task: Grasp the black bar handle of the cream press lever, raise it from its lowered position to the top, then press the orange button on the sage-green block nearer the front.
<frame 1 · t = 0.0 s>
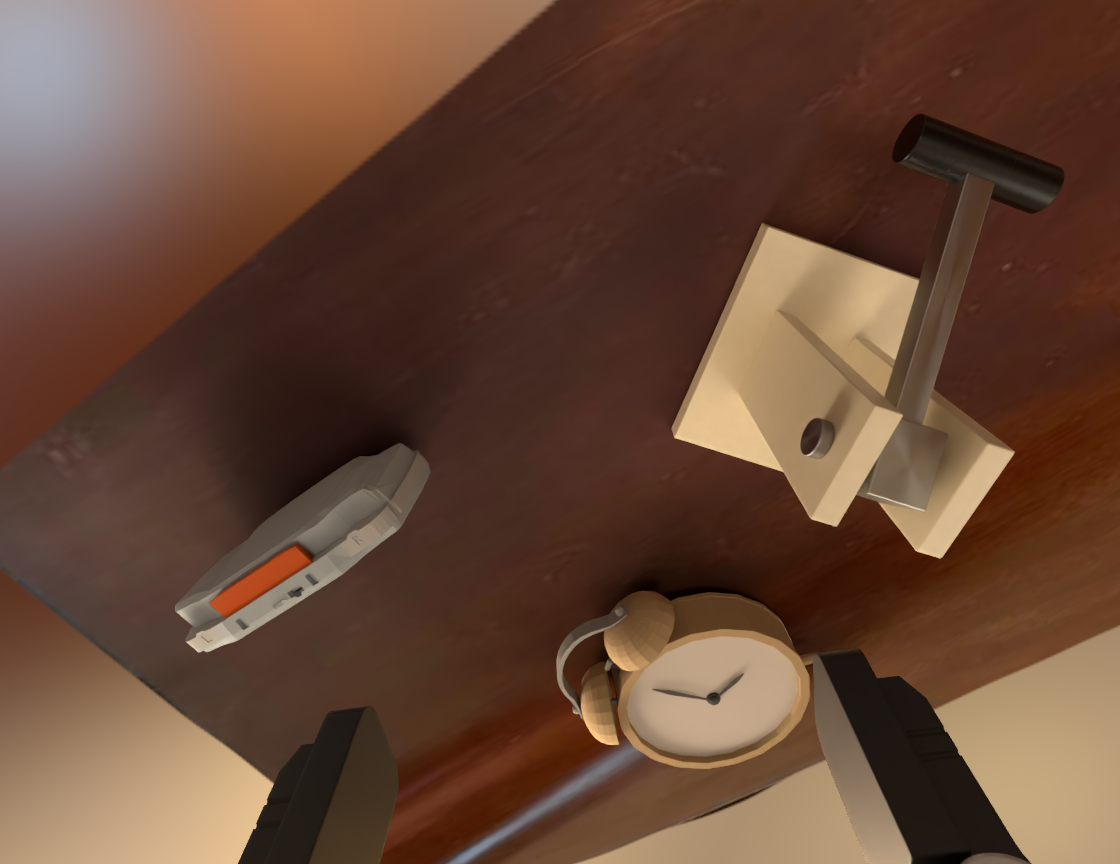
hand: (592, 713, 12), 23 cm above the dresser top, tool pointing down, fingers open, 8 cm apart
lever: (930, 320, 24), point 9 cm above the dresser top, hinge at -25.0°
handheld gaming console: (329, 499, 38), on the dresser top
alarm clock: (675, 650, 42), on the dresser top
bracket: (796, 360, 34), on the dresser top
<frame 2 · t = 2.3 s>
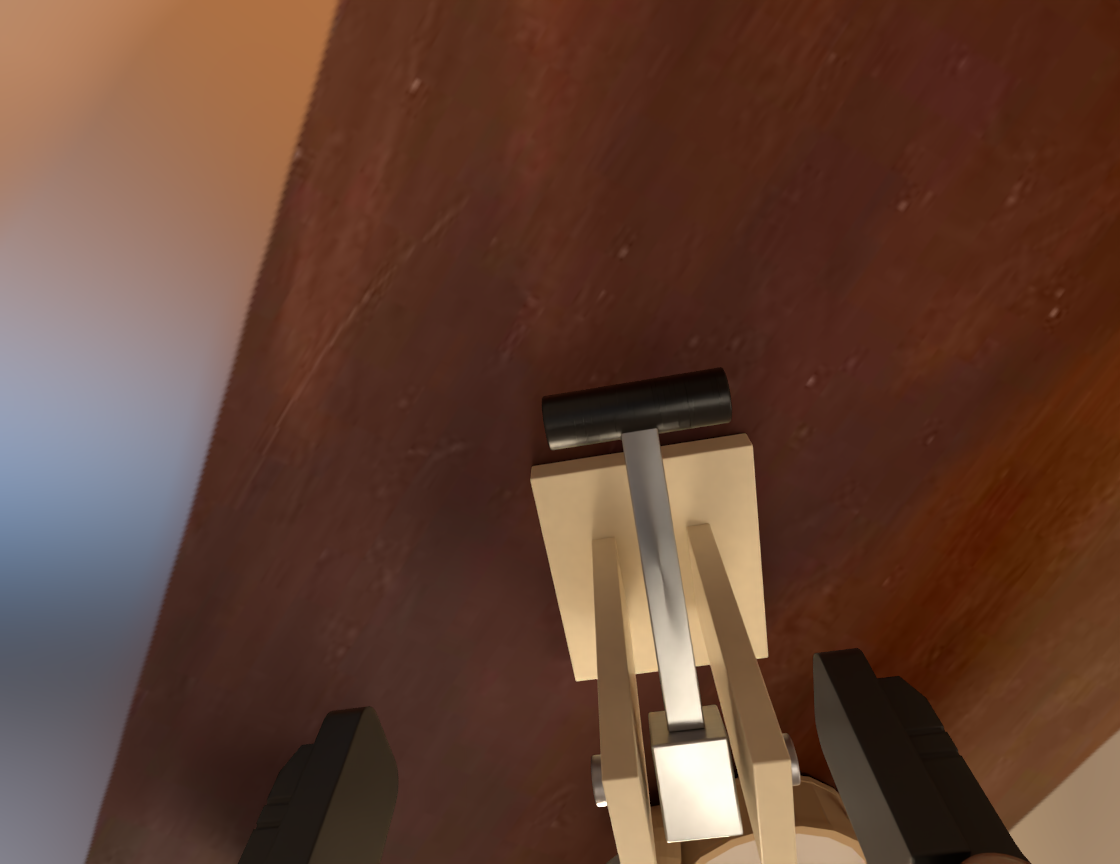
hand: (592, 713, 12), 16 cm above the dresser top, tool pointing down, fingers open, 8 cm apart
lever: (665, 597, 20), point 9 cm above the dresser top, hinge at -25.0°
alarm clock: (723, 837, 38), on the dresser top
bracket: (653, 557, 30), on the dresser top
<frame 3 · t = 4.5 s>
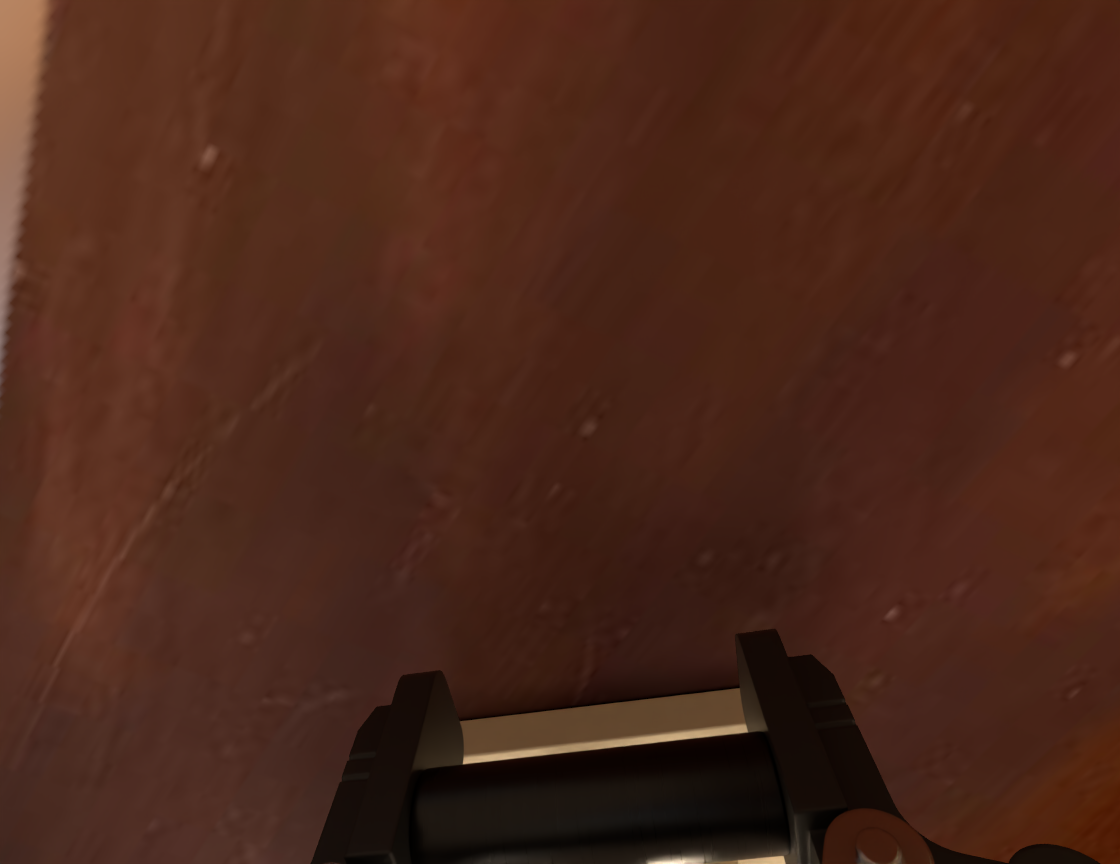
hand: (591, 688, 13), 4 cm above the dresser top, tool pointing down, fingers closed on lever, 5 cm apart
bracket: (642, 835, 20), on the dresser top
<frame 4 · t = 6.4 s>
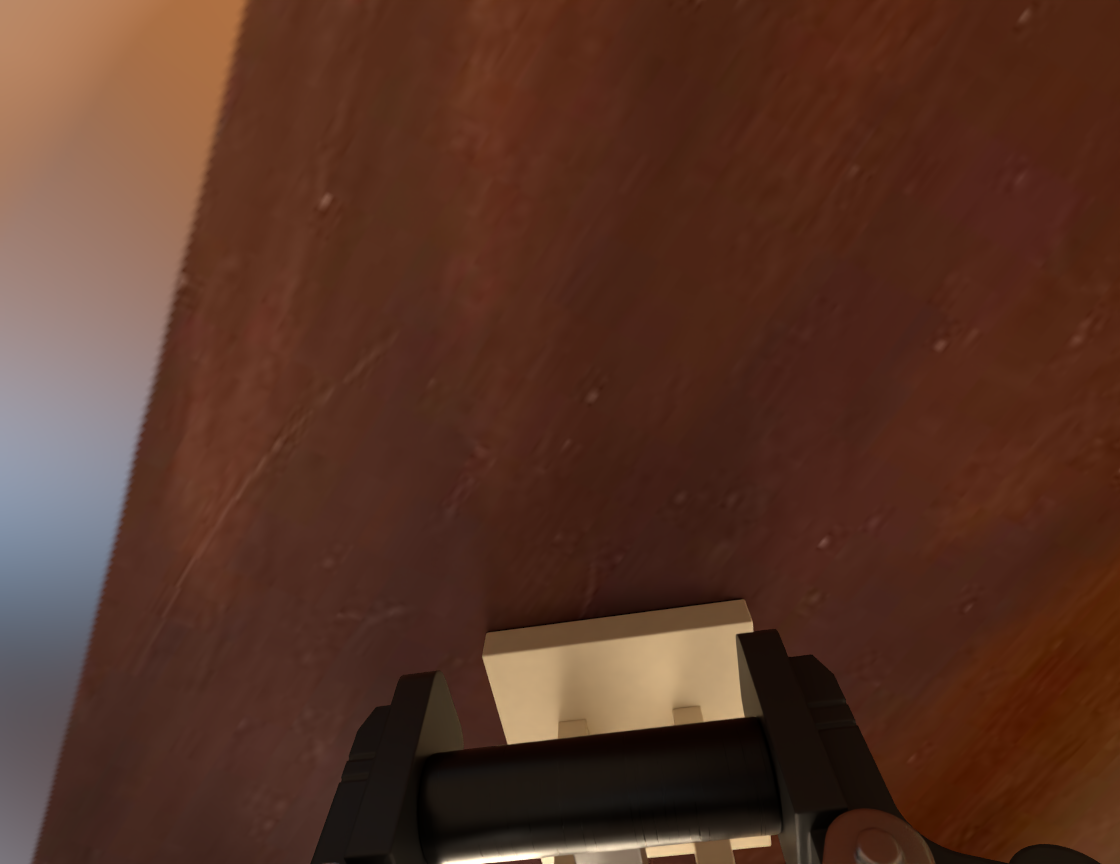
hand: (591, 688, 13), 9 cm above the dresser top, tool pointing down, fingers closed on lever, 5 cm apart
bracket: (634, 731, 25), on the dresser top
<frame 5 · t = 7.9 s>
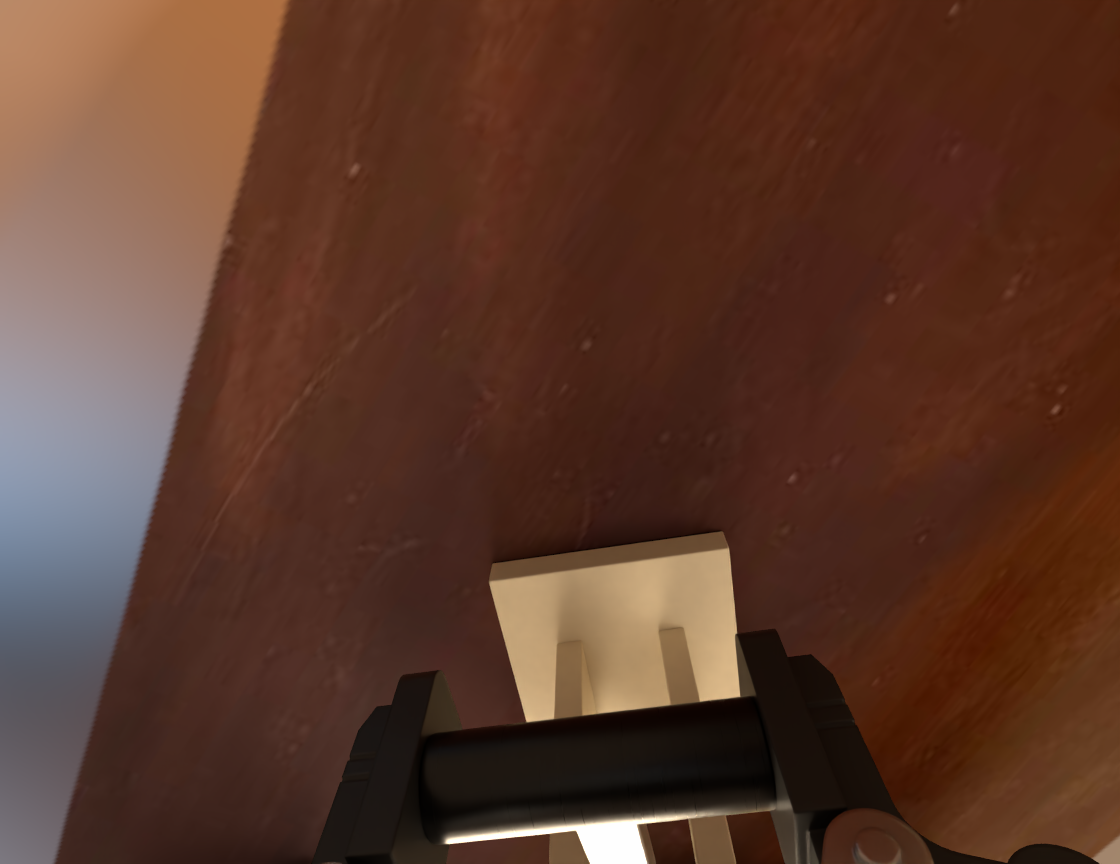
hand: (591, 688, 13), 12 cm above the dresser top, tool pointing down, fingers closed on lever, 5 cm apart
bracket: (625, 656, 28), on the dresser top
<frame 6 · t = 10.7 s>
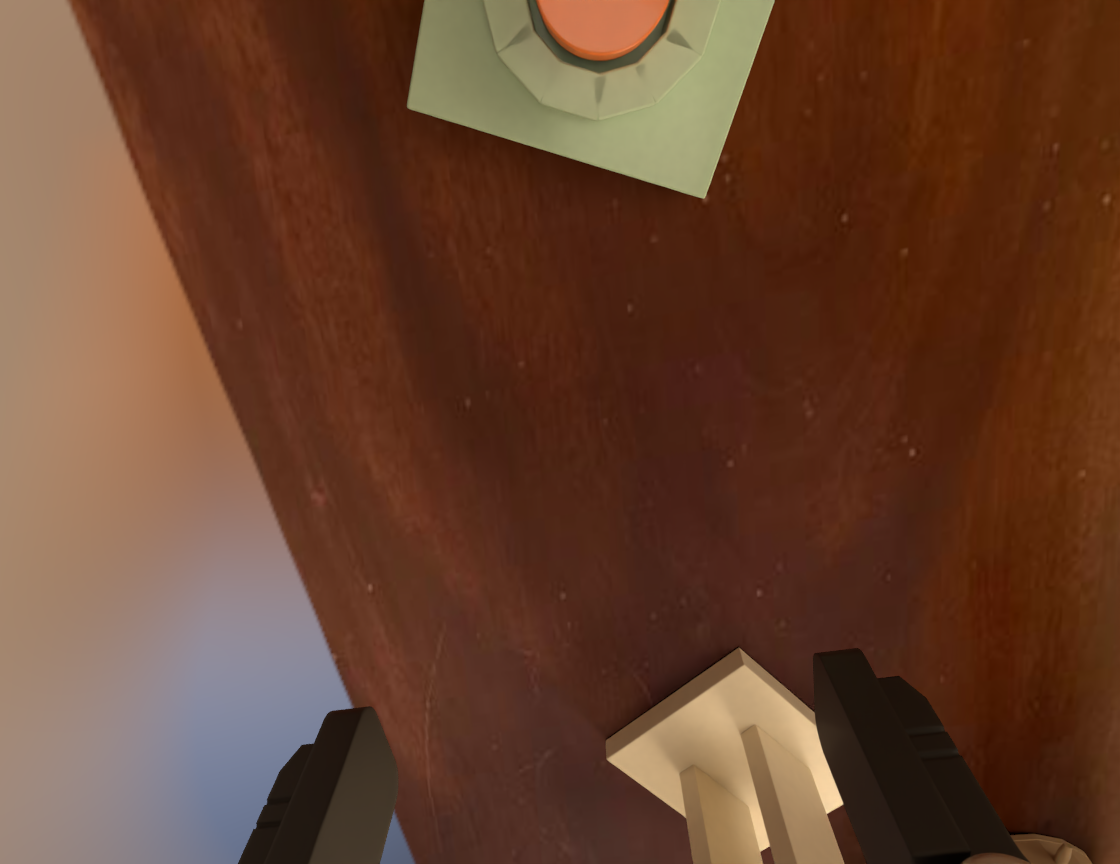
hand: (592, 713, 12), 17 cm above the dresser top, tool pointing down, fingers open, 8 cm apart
button block: (597, 7, 22), on the dresser top
bracket: (739, 751, 36), on the dresser top
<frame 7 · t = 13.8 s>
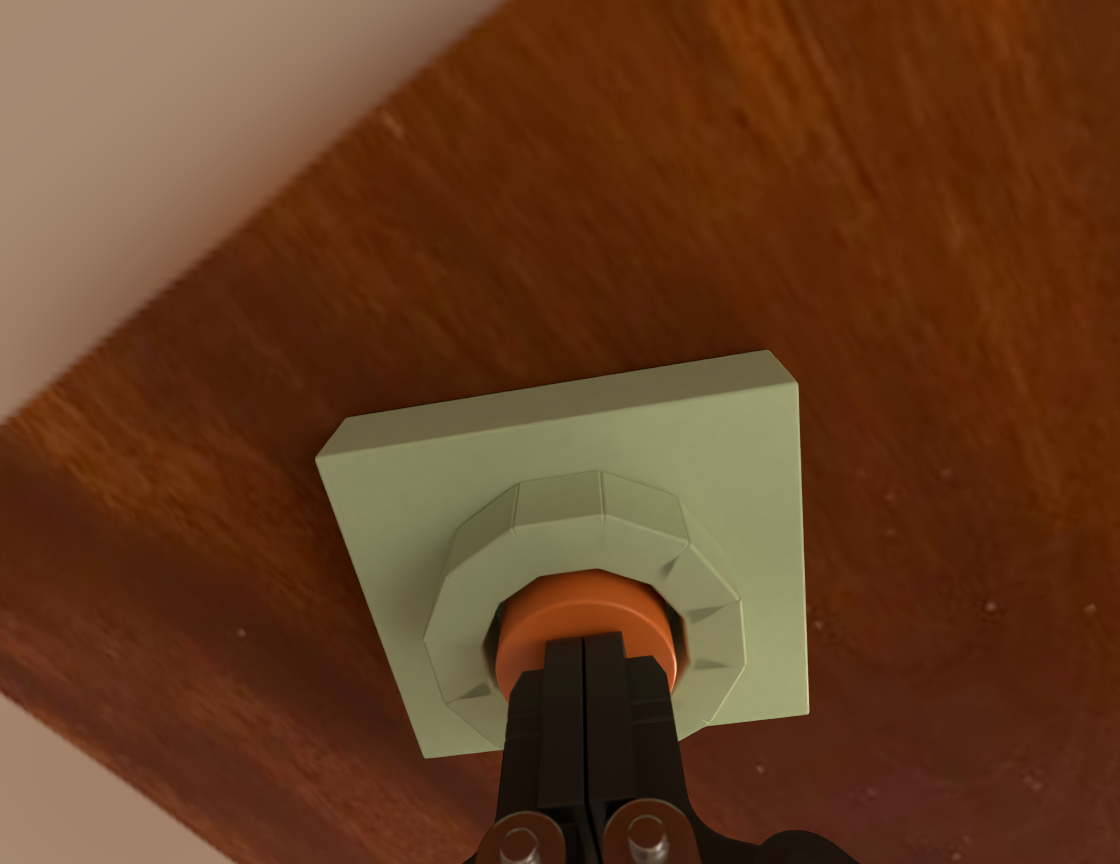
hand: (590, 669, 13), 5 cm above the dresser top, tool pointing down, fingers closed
button: (585, 643, 14), point 4 cm above the dresser top, slide at -0.7 cm, touching gripper
button block: (582, 544, 17), on the dresser top
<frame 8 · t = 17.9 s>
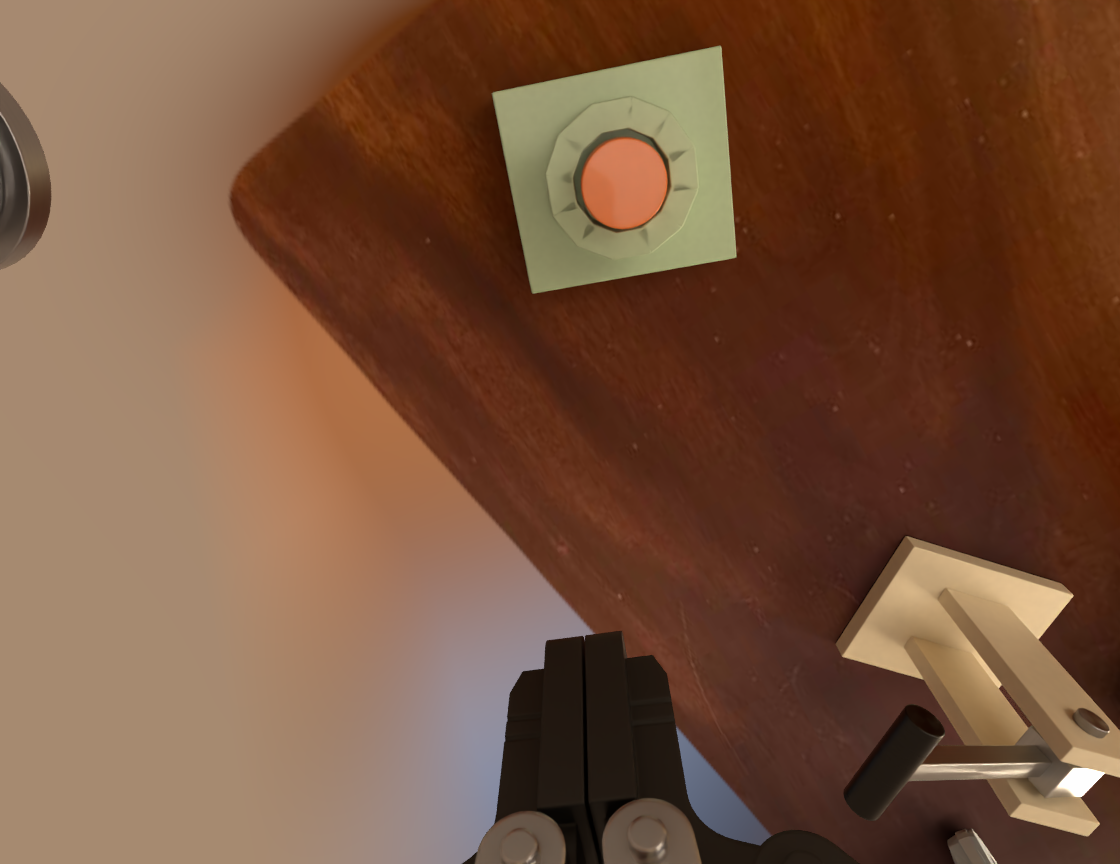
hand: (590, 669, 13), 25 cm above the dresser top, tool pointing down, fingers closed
button: (622, 182, 29), point 4 cm above the dresser top, slide at 0.1 cm
lever: (983, 762, 32), point 12 cm above the dresser top, hinge at 15.9°
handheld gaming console: (978, 862, 54), on the dresser top
button block: (616, 175, 33), on the dresser top
bracket: (945, 614, 44), on the dresser top
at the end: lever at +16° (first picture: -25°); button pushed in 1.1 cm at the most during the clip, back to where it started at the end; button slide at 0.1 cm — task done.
